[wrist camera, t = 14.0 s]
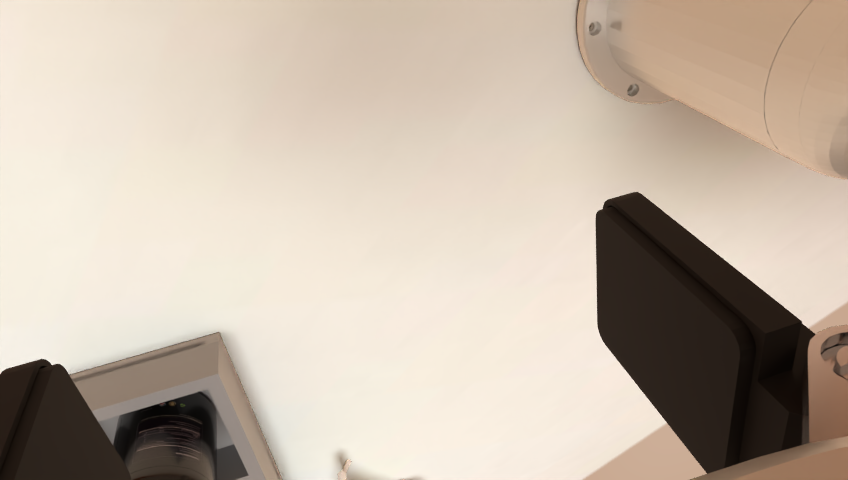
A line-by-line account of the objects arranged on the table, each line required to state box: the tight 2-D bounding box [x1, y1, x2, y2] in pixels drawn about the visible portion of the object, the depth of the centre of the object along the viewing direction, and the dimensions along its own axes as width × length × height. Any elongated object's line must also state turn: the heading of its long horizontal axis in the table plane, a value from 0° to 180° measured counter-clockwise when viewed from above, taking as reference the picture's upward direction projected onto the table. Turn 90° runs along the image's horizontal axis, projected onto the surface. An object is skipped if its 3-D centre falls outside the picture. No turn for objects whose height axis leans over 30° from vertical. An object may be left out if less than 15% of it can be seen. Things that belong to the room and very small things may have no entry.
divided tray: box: [69, 332, 282, 480], centre depth 49 cm, size 11×21×4 cm, turn 9°
